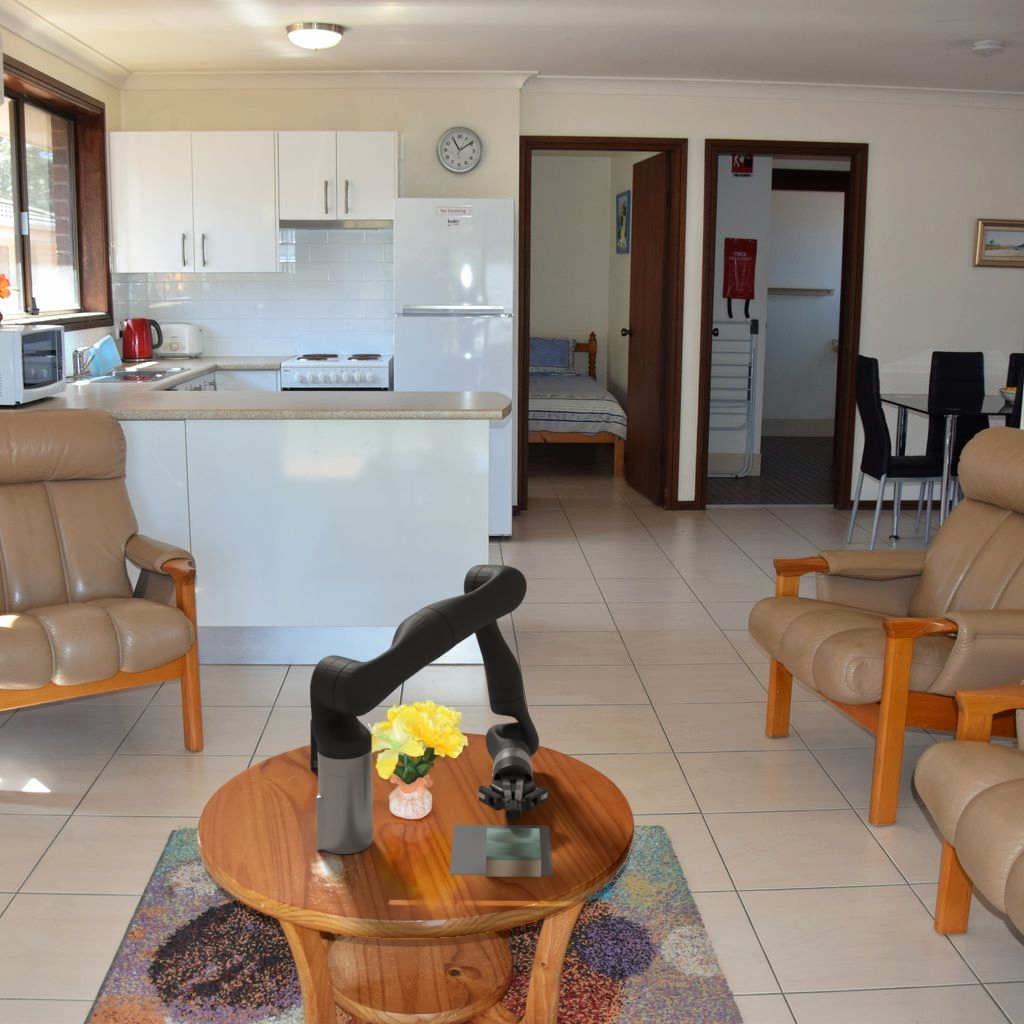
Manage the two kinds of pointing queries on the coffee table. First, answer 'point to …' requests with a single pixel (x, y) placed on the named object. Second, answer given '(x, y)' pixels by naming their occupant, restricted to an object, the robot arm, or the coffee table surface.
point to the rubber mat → (472, 849)
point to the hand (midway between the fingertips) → (513, 815)
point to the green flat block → (513, 852)
